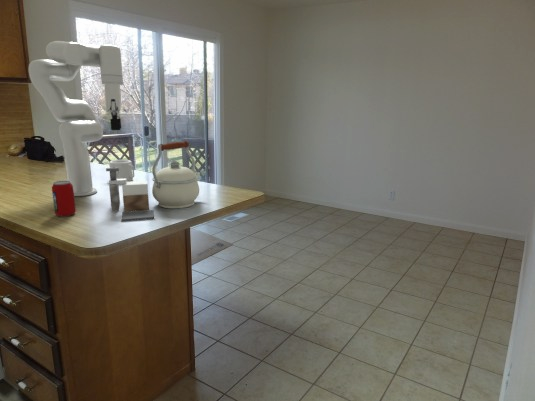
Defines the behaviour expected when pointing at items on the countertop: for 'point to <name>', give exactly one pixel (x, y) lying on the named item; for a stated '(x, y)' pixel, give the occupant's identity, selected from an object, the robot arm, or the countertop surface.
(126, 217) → the mat
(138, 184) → the cover
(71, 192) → the beverage can
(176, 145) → the kettle
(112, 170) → the latch
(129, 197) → the housing
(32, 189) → the countertop surface
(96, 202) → the countertop surface
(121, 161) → the mug
